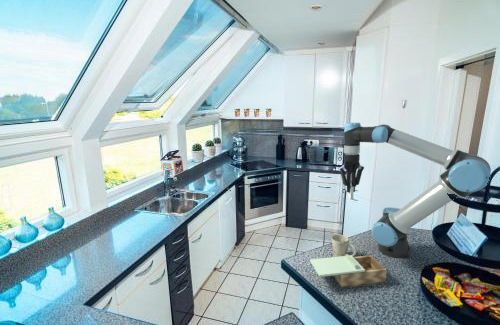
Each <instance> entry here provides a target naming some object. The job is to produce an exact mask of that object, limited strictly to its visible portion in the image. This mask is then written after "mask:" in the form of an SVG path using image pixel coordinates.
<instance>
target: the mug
mask: <svg viewBox="0 0 500 325" xmlns="http://www.w3.org/2000/svg"><path fill="white" fill-rule="evenodd" d="M349 241H350V240H349V237H348V236H347V235H344V234H334V235H332V236H331V242H332V243H331V244H332V250H333V257H340V256H346V254H348V247H350V248H352V250H353V253H352V254H351V255H352V256H353V257H356V254H357V249H356V247H355V245H353V244H351V243H349ZM348 255H350V254H348Z"/></svg>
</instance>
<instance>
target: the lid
mask: <svg viewBox="0 0 500 325" xmlns="http://www.w3.org/2000/svg"><path fill="white" fill-rule="evenodd" d="M353 257H354V256H352V254H349V255H348V253H347V254H346V256H340V257H335V256H332V257H322V258H312V259H310V260H309V262H310V263H311V265H312V267H313V268H314V270H315V272H316V273H317V275H318V276H319V277H320V278H321V277H331V276H333V275H340V274H349V273H358V272H365V269H364V268H363V267H362V266H361V265H360V264H359V263H358V262H357V261H356V260H355V259H354V258H353Z"/></svg>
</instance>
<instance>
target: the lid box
mask: <svg viewBox="0 0 500 325" xmlns="http://www.w3.org/2000/svg"><path fill="white" fill-rule="evenodd" d="M353 258H354V259H355V260H356V261H357V262H358V263H359V264H360V265H361V266H362V267H363V268H364V269H365V272H358V273H349V274H340V275H332V277H333V278H334V279H335V281H336V282H337V284H338V285H339V287H340V288H341V289H349V288H357V287H365V286H373V285H382V284H386V283H387V268H385V266H383V265H382V264H381V263H380V262H379V261H378V260H377V259H375V257H373V256H372V255H371V254H369V255H363V256H362V255H361V256H360V255H359V256H353Z"/></svg>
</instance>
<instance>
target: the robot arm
mask: <svg viewBox="0 0 500 325" xmlns="http://www.w3.org/2000/svg"><path fill="white" fill-rule="evenodd" d="M361 143H371V144H384V143H386V144H389V145H392V146H394V147H396V148H399V149H401V150H404V151H406V152H408V153H410V154H414V155H416V156H418V157H421V158H423V159H427V160H428V161H431V162H433V163H435V164H438V165H440V166H442V167H443V168H444V169H445V171H444V172H442V173H441V174H440V175H439V180H438V181H437V182H436V183H434V184H433V185H432V186H431V187H429V188H427V189H426V190H425V191H424V192H422V193H420V194H419V195H418V196H417V197H416V198H414V199H412V200H411V201H409V202H408V203H407V204H405V205H404V206H403V207H401V208H398V207H397V208H396V207H384V208H383V209H382V216H381V217H380V218H379V220H377V221H376V222H375V223H374V224H373V225H372V227H371V230H370V231H371V237H372V238H373V239H374V240H375V242H376V243H377V250H378V251H379V252H380V253H381V254H383V255H385V256H387V257H391V258H396V259H404V258H408V257H409V256H410V255H411V247H410V244H409V242H408V241H409V240H408V235H409V234H410V233H411V228H413V226H415V225H417V224H418V223H420V222H421V221H423V220H424V219H426V218H427V217H429V216H430V215H432V214H434V213H435V212H436V211H438V210H440V209H442V208H443V207H444V206H446V205H447V204H449V203H450V202H452V201H453V200H451V199H450V198H449V196H448V195H447V193H448V194H455V195H457V196H460V197H459V198H462V197H464V198H466V197H468V196H469V195H471V194H473V193H476V192H478V191H481V190H482V189H484V188H485V187H487V185H488V184H489V182H490V180H489V177H490V178H491V176H490V175H491V170H492V169H491V165H490V164H489V162H488V161H487V160H486V159H484V158H483V157H481V156H478V155H475V154H472V153H468V152H465V151H462V150H460V149H454V150H452V149H450V148H447V147H445V146H442V145H439V144H436V143H433V142H431V141H429V140H425V139H423V138H420V137H417V136H414V135H412V134H409V133H406V132H404V131H401V130H398V129H395V128H392V127H391V126H390V125H388V124H379V125H375V126H362V125H361V123H360V122H346V123H345V124H344V130H343V153H344V154H343V164H342V166H340V167H338V171H339V172H340V176H341V180H342V184H343V185H344V186H345V187H346V193H347V198H348V199H349V200H354V193H355V192H356V187H357V186H359V184H360V181H361V178H362V174H363V170H364V169H365V167H364V166H363V165H361V163H360V159H361V158H360V152H361ZM345 172H346V173H345ZM488 181H489V182H488ZM487 183H488V184H487Z"/></svg>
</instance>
